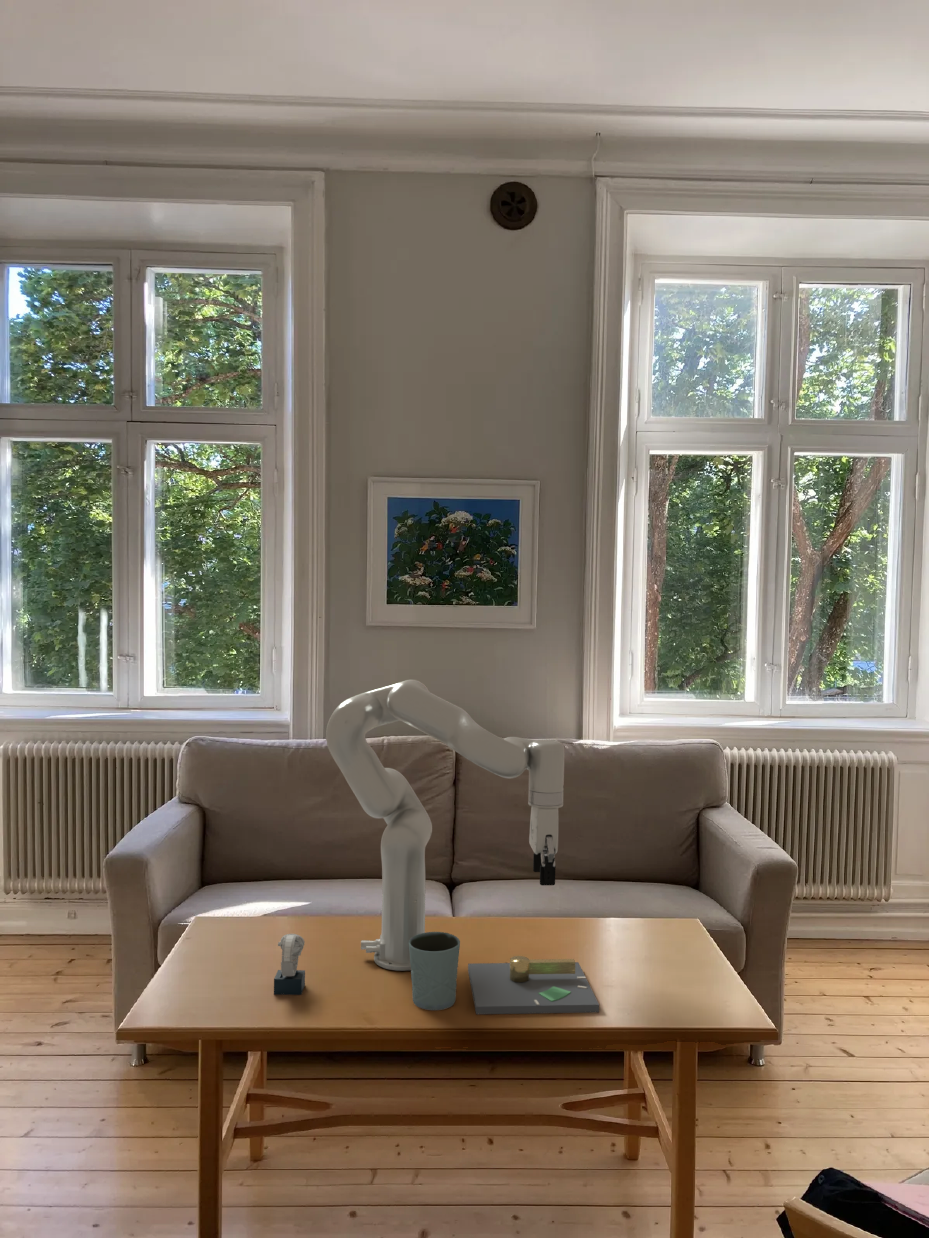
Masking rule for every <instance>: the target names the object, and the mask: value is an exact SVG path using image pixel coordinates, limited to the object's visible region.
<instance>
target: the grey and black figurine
mask: <svg viewBox="0 0 929 1238" xmlns="http://www.w3.org/2000/svg"><path fill="white" fill-rule="evenodd" d="M304 946H305V939H304V938H303V937H302V936H301V935H299V934H296V933H288V934H287V933H286V934H285V935H282V937H281V938H280V941H278V943H277V947H280V949H281V962H280V969H278V970H277V972H276V974H275V976H274V978H273V995H274V996H275V995H276V996H277V995H278V996H279V995H281V996H282V995H284V996H285V995H288V996H289V995H290V996H292V995H294V996H300V995H301V996H302V995H303V991H304V989H305V986H306V970H305V969H298V963H299V957H300V956H301V954H302V951H303V949H304Z"/></svg>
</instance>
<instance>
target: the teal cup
mask: <svg viewBox="0 0 929 1238" xmlns="http://www.w3.org/2000/svg"><path fill="white" fill-rule="evenodd" d="M460 947H461V940H460V939H459V938H458V936H456V935H454V934H451V933H448V932H442V931H425V933H421V934H417V935H415V936H413V937H412V938H411V939H410V940H409V953H410V964H411V969H412V970H410V975H411V976H410V978H411V985H412V986H411V989H412V990H411V991H412V993H411V994H412V995H411V996H412V1002H413V1005H415V1006H416V1007H418V1008H419V1009H421V1010H422V1009H423V1010H427V1011H441V1010H446V1009H449V1008H451V1007H453V1006H454V1004H455V1002H456V1001H457V1000H456V998H457V985H458V983H457V979H458V970H459V969H458V967H459V957H460Z"/></svg>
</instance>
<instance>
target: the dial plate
mask: <svg viewBox="0 0 929 1238" xmlns="http://www.w3.org/2000/svg"><path fill="white" fill-rule="evenodd" d="M467 972H468V977H469V982H470V989H471V994H472V1000H473V1005H474V1011H475V1015H510V1014H511V1015H512V1014H513V1015H515V1014H516V1015H517V1014H519V1015H521V1014H525V1015H526V1014H569V1013H570V1014H574V1013H575V1014H577V1013H578V1014H579V1013H581V1014H582V1013H600V1003H599V1002H598V1000H597V998H596V996H595V993H594V991H593V989H592V987H591V985H590V983H589V982H588V981H589V980H588V979H587V976H586V975H585V972H584V971H583V969H582V967H581V965H580V963H579V962H578V961H577V962H576V961H575V974H529V980H528V981H526V982H515V981H512V980H511V979H510V962H497V963H496V962H495V963H493V962H492V963H491V962H490V963H489V962H488V963H487V962H486V963H485V962H484V963H479V962H478V963H468V964H467Z"/></svg>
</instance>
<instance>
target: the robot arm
mask: <svg viewBox="0 0 929 1238" xmlns="http://www.w3.org/2000/svg"><path fill="white" fill-rule="evenodd" d="M398 721H400V722H402V723H404V724H406V725H407V726H410V727H411V728H414V729H416V730H418V731H420V732H422V733H424V734H425V735H426V736H430V737H431V738H433V739H436V740H438V741H439V742H441V743H443V744H445V745H446V746H447V747H448V748H449V749H451V750H452V751H454V752H456V753H458V754H459V755H460V756H462V757H463V758H465V759H466V760H468V761H469V762H471V763H473V764H475V765H476V766H478V767H480V768H482V769H484V770H486V771H488V772H490V773H492V774H494V775H496V776H499V777H501V778H503V779H516V778H517V777H519V776H521V775H522V774H523V773H524V772H525V770H527V771H528V800H527V802H528V803H527V804H528V805H529V807H530V806H531V808H530V818H529V819H530V822H529V837H528V842H529V846H530V847H531V849H532V851H533V854H532V855H533V861H532V863H533V864H532V870H533V872H534V873H539V885H540V886H555V885H556V858H555V857H556V856H555V855H556V854H557V853H558V851H559V850H558V849H559V818H560V817H559V808H562V807H563V806H564V788H565V787H564V783H565V782H564V781H565V746H564V744H563V743H562V742H561V741H558V740H554V739H528V738H524V737H519V736H508V737H505V738H502V737H500V736H498V735H496V734H494V733H492V732H490V731H489V730H487V729H485V728H484V727H482V726H481V725H480V724H478V723H477V722H476V721H475V720H474V719H473V718H472V716H471V715H470V714H469V713H468V712H467V711H466V710H465V709H463V707H461V706H458V705H457V704H454V703H452V702H450V701H447V700H446V699H444V698H442V697H440V696H438V695H436V694H434V693H432V692H431V691H429V688H428V687H427V686H426V685H425V684H424V683H423V682H421V681H419V680H418V679H406V680H403V681H399V682H397V683H394V684H391V685H387V686H382V687H380V688H376V689H373V690H369V691H366V692H361V693H359V694H356V695H354V696H351V697H349V698H346V699H345V700H343V701H342V702H341V703H340V704H339V705H338V706H336V708H335V709H334V711H333V712H332V714H331V715H330V717H329V719H328V722H327V724H326V725H327V726H326V728H325V730H326V731H325V739H326V740H325V741H326V744H327V749H328V752H329V753H330V756H331V757H332V759H333V760H334V762H335V764H336V765H337V767H338V768H339V770H340V772H341V773H342V775H343V777H344V779H345V781H346V782H347V784H348V786H349V787H350V789H351V791H352V792H353V794H354V795H355V798H356V799H357V801H358V803H359V805H360V806H361V808H362V810H363V811H364V812H365V813H366V814H367V815H368V816H370V817H371V818H372V819H373V818H374V819H383V820H384V822H385V823H386V825H387V826H386V827H385V829H383V830H384V831H383V833H382V835H381V839H380V840H381V841H380V859H381V876H382V877H381V878H382V880H381V882H382V883H381V934H380V935H379V938H375V940H369V939H366V940H365V939H363V940H362V939H361V940H360V950H361V951H362V950H365V953H367V954H368V953H369V954H371V953H372V954H373V953H374V954H373V961H374V963H375V964H376V965H378V966H379V967H380V968H383V969H385V970H390V971H398V972H400V971H401V972H402V971H403V972H407V971H412V969H411V964H410V953H409V940H410V939H411V938H412V937H413V936H415V935H417V934H421V933H426V926H425V925H426V858H425V857H426V856H425V855H426V847H427V844H428V843H429V841H430V839H431V837H432V833H433V823H432V821H431V818H430V816H429V814H428V812H427V811H426V809H425V807H424V805H423V804H422V802H421V801H420V799H419V797H418V796H417V793H416V792H415V791H414V789H413V788H412V786H411V784H410V783H409V781H408V780H407V778H406V777H405V776H404V775H403V774H402V773H401V772H400V771H399V770H396V769H394V768H392V767H384V765H383V764H382V762H381V760H380V759H379V756H378V755H377V753H376V752H375V750H374V749H373V748H372V746H371V745H370V744H369V743H368V742H367V741H368V740H367V739H366V735H367V733H368V732H370V731H371V730H373V729H375V728H378V727H381V726H384V725H389V724H392V723H395V722H398Z"/></svg>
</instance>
